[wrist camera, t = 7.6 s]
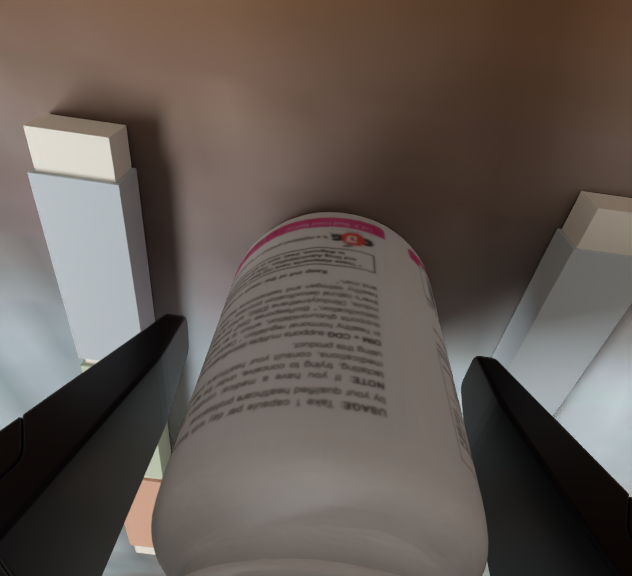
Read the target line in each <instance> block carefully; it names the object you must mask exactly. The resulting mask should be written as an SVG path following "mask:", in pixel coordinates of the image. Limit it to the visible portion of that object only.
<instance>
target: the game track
mask: <svg viewBox="0 0 632 576" xmlns="http://www.w3.org/2000/svg"><path fill="white" fill-rule="evenodd" d="M23 127H24V131H25V134H26V138H27V142H28V146H29V149H30V153H31V157H32V161H33V164H34V168H33V169H32V170H30V171H29V172H27V173H28V177H29V180H30V184H31V188H32V191H33V195H34V198H35V202H36V206H37V209H38V213H39V217H40V220H41V224H42V227H43V231H44V235H45V238H46V242H47V245H48V249H49V253H50V256H51V260H52V264H53V267H54V271H55V274H56V278H57V282H58V285H59V289H60V292H61V296H62V300H63V303H64V307H65V311H66V314H67V318H68V321H69V325H70V329H71V332H72V336H73V339H74V343H75V347H76V350H77V354H78V358H84V359H85V360H84V361H83V363H82V364H81V368H82V372H84V371H86V370H87V369H88V368H90V367H91V366H93V365H94V364H96V363H97V362H98V361H100V360H101V359H103V358H104V357H105V356H107V355H108V354H110V353H111V352H113V351H114V350H115V349H117V348H118V347H120V346H121V345H123V344H124V343H125V342H127V341H128V340H130V339H131V338H132V337H134V336H135V335H137V334H138V333H140V332H141V331H142V330H144V329H145V328H147V327H148V326H149V325H151V324H152V323H154V322H155V316H154V308H153V300H152V292H151V284H150V276H149V267H148V259H147V251H146V243H145V235H144V227H143V219H142V211H141V202H140V194H139V186H138V178H137V170H136V168H132V167H131V159H130V151H129V143H128V136H127V128H126V125H122V124H115V123H108V122H101V121H94V120H87V119H80V118H73V117H66V116H59V115H52V114H45V115H43V116H41V117H39V118H37V119H35V120H33V121H31V122H29V123H27V124H25V125H23ZM631 304H632V198H627V197H620V196H613V195H606V194H600V193H593V192H586V191H581V192H580V194H579V196H578V198H577V200H576V202H575V204H574V206H573V208H572V210H571V212H570V214H569V216H568V218H567V220H566V222H565V224H564V226H563V227H562V229H558V228H557V230H556V232H555V234H554V236H553V238H552V240H551V242H550V244H549V246H548V248H547V250H546V252H545V253H544V255H543V257H542V259H541V261H540V263H539V265H538V267H537V269H536V271H535V273H534V275H533V277H532V279H531V281H530V283H529V285H528V287H527V289H526V291H525V293H524V295H523V297H522V299H521V301H520V303H519V305H518V307H517V309H516V311H515V313H514V315H513V317H512V319H511V321H510V323H509V325H508V326H507V328H506V330H505V332H504V334H503V336H502V338H501V340H500V342H499V344H498V346H497V348H496V350H495V352H494V354H493V356H492V358H495V359H496V360H498V361H499V362H500V363H501V364H502V365H503V366H504V367H505V368H506V369H507V370H508V371H509V372H510V374H511V375H512V376H513V377H514V378H515V379H516V380H517V381H518V382H519V383H520V384H521V385H522V386H523V387H524V388H525V389H526V390H527V391H528V392H529V393H530V394H531V395H532V396H533V397H534V398H535V399H536V400H537V401H538V402H539V403H540V404H541V405H542V406H543V407H544V408H545V409H546V410H547V411H548V412H549V413H550V414H551V415H552V416H553V415H554V414H555V412H556V411H557V409H558V408H559V406H560V405H561V404H562V402H563V401H564V399H565V398H566V396H567V395H568V394H569V392H570V391H571V389H572V388H573V387H574V385H575V384H576V382H577V381H578V379H579V378H580V377H581V375H582V374H583V372H584V371H585V369H586V368H587V367H588V365H589V364H590V362H591V361H592V359H593V358H594V357H595V355H596V354H597V352H598V351H599V349H600V348H601V347H602V345H603V344H604V342H605V341H606V339H607V338H608V337H609V335H610V334H611V332H612V331H613V329H614V328H615V327H616V325H617V324H618V322H619V321H620V319H621V318H622V317H623V315H624V314H625V312H626V311H627V309H628V308H629V307H630V305H631ZM462 417H463V415H462ZM170 456H171V446H170V438H169V430H168V422H167V424H166V426H165V429H164V431H163V433H162V436H161V438H160V440H159V443H158V445H157V448H156V450H155V452H154V455H153V457H152V459H151V462H150V464H149V466H148V469H147V471H146V473H145V476H144V478H143V480H142V483H141V485H140V487H139V490H138V492H137V494H136V497H135V499H134V501H133V504H132V506H131V509H130V511H129V513H128V516H127V518H126V520H125V523H124V524H125V527H126V531H127V535H128V538H129V542H130V545H134V546H135V549H136V552H138V553H146V554H154V555H156V554H155V551H154V547H153V543H152V535H151V522H152V513H153V509H154V505H155V501H156V497H157V494H158V491H159V488H160V484H161V481H162V478H163V475H164V472H165V469H166V467H167V464H168V461H169V459H170Z"/></svg>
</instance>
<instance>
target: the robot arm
mask: <svg viewBox="0 0 632 576" xmlns="http://www.w3.org/2000/svg"><path fill="white" fill-rule="evenodd" d="M188 348H189V341H188V326H187V319H186V317H184V316H182V315H174V314H166V315H164V316H162V317H161V318H159V319H158V320H157V321H155V322H154V323H152V324H151V325H149V326H148V327H147V328H145V329H144V330H142V331H141V332H140V333H138V334H137V335H135V336H134V337H132V338H131V339H130V340H128V341H127V342H125V343H124V344H123V345H121V346H120V347H118V348H117V349H115V350H114V351H113V352H111V353H110V354H108V355H107V356H105V357H104V358H103V359H101V360H100V361H98V362H97V363H96V364H94V365H93V366H91V367H90V368H88V369H87V370H86V371H84V372H83V373H81V374H80V375H79V376H77V377H76V378H74V379H73V380H71V381H70V382H69V383H67V384H66V385H64V386H63V387H62V388H60V389H59V390H57V391H56V392H54V393H53V394H52V395H50V396H49V397H47V398H46V399H45V400H43V401H42V402H40V403H39V404H37V405H36V406H35V407H33V408H32V409H30V410H29V411H28V412H26V413H25V414H24V415H23V418H17V419H16V420H15V421H13V422H12V423H10V424H9V425H7V426H6V427H5V428H3V429H2V430H0V576H102V574H103V572H104V570H105V567H106V565H107V562H108V560H109V558H110V555H111V553H112V551H113V548H114V546H115V544H116V541H117V539H118V537H119V534H120V532H121V530H122V527H123V525H124V523H125V520H126V518H127V516H128V513H129V511H130V509H131V506H132V504H133V501H134V499H135V497H136V494H137V492H138V490H139V487H140V485H141V483H142V480H143V478H144V476H145V473H146V471H147V469H148V466H149V464H150V462H151V459H152V457H153V455H154V452H155V450H156V448H157V445H158V443H159V440H160V438H161V436H162V433H163V431H164V429H165V426H166V424H167V421H168V419H169V415H170V412H171V409H172V406H173V402H174V399H175V395H176V392H177V389H178V385H179V382H180V378H181V375H182V371H183V368H184V365H185V361H186V358H187V354H188ZM461 396H462V408H463V421H464V425H465V429H466V433H467V438H468V442H469V446H470V452H471V456H472V460H473V463H474V468H475V472H476V476H477V480H478V484H479V489H480V493H481V497H482V502H483V506H484V511H485V516H486V523H487V532H488V558H487V562H488V567H489V572H490V576H632V497H629V494H628V493H627V491H626V490H625V489H624V488H623V487H622V486H621V485H620V484H619V483H618V482H617V481H616V480H615V479H614V478H613V477H612V476H611V475H610V474H609V473H608V472H607V471H606V470H605V469H604V468H603V467H602V466H601V465H600V464H599V463H598V462H597V461H596V460H595V459H594V458H593V457H592V456H591V455H590V454H589V453H588V452H587V451H586V450H585V449H584V448H583V447H582V446H581V445H580V444H579V443H578V442H577V441H576V440H575V439H574V438H573V437H572V436H571V435H570V434H569V432H568V431H567V430H566V429H565V428H564V427H563V426H562V425H561V424H560V423H559V422H558V421H557V420H556V419H555V418H554V417H553V416H552V415H551V414H550V413H549V412H548V411H547V410H546V409H545V408H544V407H543V406H542V405H541V404H540V403H539V402H538V401H537V400H536V399H535V398H534V397H533V396H532V395H531V394H530V393H529V392H528V391H527V390H526V389H525V388H524V387H523V386H522V385H521V384H520V383H519V382H518V381H517V380H516V379H515V378H514V377H513V376H512V375H511V374H510V372H509V371H508V370H507V369H506V368H505V367H504V366H503V365H502V364H501V363H500V362H499V361H498V360H496V359H495V358H491V357H483V356H476V357H475V358H474V359H473V360H472V362H471V364H470V366H469V369H468V371H467V373H466V375H465V377H464V379H463V382H462V386H461Z"/></svg>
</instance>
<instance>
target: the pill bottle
mask: <svg viewBox="0 0 632 576" xmlns="http://www.w3.org/2000/svg"><path fill="white" fill-rule="evenodd" d="M151 535H152V543H153V547H154V551H155V554H156V557H157V559H158V562H159V564H160V565H161V567H162V569H163V570H164V572H165V574H166V575H167V576H482V574H483V572H484V570H485V566H486V562H487V558H488V532H487V523H486V516H485V511H484V506H483V502H482V497H481V493H480V489H479V484H478V480H477V476H476V472H475V468H474V463H473V460H472V456H471V452H470V446H469V442H468V438H467V433H466V429H465V425H464V421H463V417H462V413H461V408H460V404H459V400H458V397H457V393H456V389H455V384H454V381H453V375H452V371H451V367H450V363H449V359H448V355H447V350H446V346H445V342H444V338H443V333H442V330H441V326H440V322H439V318H438V313H437V308H436V304H435V300H434V296H433V292H432V288H431V284H430V281H429V278H428V275H427V273H426V270H425V268H424V266H423V263H422V262H421V260H420V258H419V257H418V255H417V254H416V252H415V251H414V250H413V249H412V247H411V246H410V245H409V244H408V243H407V242H406V241H405V240H404V239H403V238H402V237H400V236H399V235H398V234H397V233H395V232H394V231H392V230H391V229H390V228H388V227H386V226H384V225H382V224H380V223H378V222H376V221H374V220H371V219H368V218H365V217H361V216H357V215H353V214H347V213H338V212H320V213H312V214H306V215H303V216H299V217H296V218H293V219H291V220H288V221H286V222H284V223H282V224H280V225H278V226H276V227H275V228H273V229H271V230H270V231H268V232H267V233H266V234H265V235H263V236H262V237H261V238H260V239H259V240H258V241H257V242H256V243H255V244H254V245H253V246H252V247H251V248H250V249H249V251H248V252H247V253H246V255H245V257H244V258H243V260H242V262H241V264H240V266H239V268H238V271H237V273H236V275H235V278H234V281H233V284H232V286H231V289H230V291H229V294H228V297H227V300H226V303H225V306H224V309H223V311H222V314H221V317H220V320H219V323H218V325H217V328H216V331H215V334H214V336H213V339H212V342H211V345H210V348H209V351H208V353H207V356H206V359H205V362H204V364H203V367H202V370H201V373H200V376H199V378H198V381H197V384H196V387H195V390H194V392H193V395H192V398H191V401H190V404H189V406H188V409H187V411H186V414H185V417H184V420H183V423H182V425H181V428H180V431H179V434H178V436H177V439H176V442H175V445H174V448H173V451H172V453H171V456H170V459H169V461H168V464H167V467H166V469H165V472H164V475H163V478H162V481H161V484H160V488H159V491H158V494H157V497H156V501H155V505H154V509H153V513H152V522H151Z"/></svg>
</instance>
